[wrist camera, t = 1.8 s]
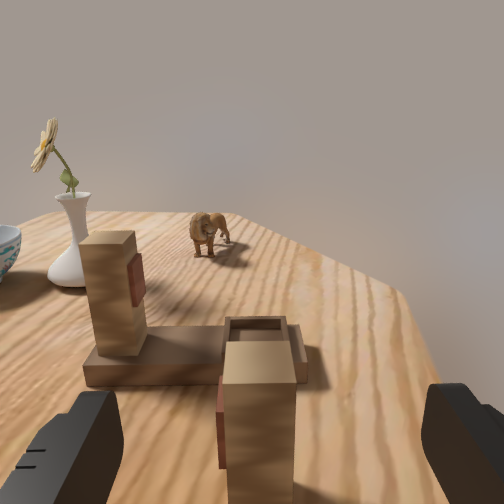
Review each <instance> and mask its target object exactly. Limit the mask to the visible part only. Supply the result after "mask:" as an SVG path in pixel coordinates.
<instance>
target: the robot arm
mask: <svg viewBox="0 0 504 504" xmlns="http://www.w3.org/2000/svg"><path fill="white" fill-rule="evenodd" d="M421 440H422V446H423V450H424V453H425V456H426V458H427V460H428V462H429V464H430V466H431V468H432V470H433V472H434V474H435V476H436V478H437V480H438V482H439V484H440V486H441V488H442V490H443V491H444V493H445V495H446V497H447V499H448V501H449V503H450V504H504V415H503V414H502V413H500V412H499V411H498V410H496V409H495V408H493V407H492V406H491V405H489V404H484V405H481V404H480V402H479V401H478V400H477V399H476V397H475V396H474V395H473V393H472V392H471V391H470V390H469V388H468V387H467V386H466V385H465V384H462V383H448V384H431V385H430V386H429V388H428V392H427V398H426V404H425V410H424V416H423V422H422V428H421ZM123 448H124V437H123V431H122V426H121V420H120V415H119V409H118V404H117V398H116V395H115V393H114V391H84V392H81V393H80V394H79V396H78V397H77V399H76V401H75V402H74V404H73V406H72V407H71V409H70V411H69V412H68V413H67V414H57V415H56V416H55V417H54V418H53V419H52V420H50V421H49V422H48V423H47V424H46V425H45V426H43V427H42V428H41V429H40V430H39V431H38V433H37V434H36V436H35V437H34V439H33V440H32V442H31V443H30V445H29V446H28V448H27V449H26V454H23V456H22V457H21V459H20V460H19V462H18V463H17V465H16V466H15V467H16V468H15V470H14V471H12V472H11V474H10V475H9V477H8V478H7V480H6V481H5V483H4V485H3V486H2V488H1V489H0V504H106V502H107V500H108V497H109V494H110V491H111V489H112V486H113V483H114V480H115V478H116V475H117V472H118V469H119V467H120V464H121V460H122V456H123Z"/></svg>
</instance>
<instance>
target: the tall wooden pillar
mask: <svg viewBox="0 0 504 504" xmlns="http://www.w3.org/2000/svg"><path fill="white" fill-rule="evenodd" d="M296 384H297V383H296V377H295V371H294V365H293V359H292V353H291V347H290V341H237V342H226V352H225V362H224V372H223V376H220V378H219V387H218V396H217V405H216V426H217V443H218V460H219V469H227V488H228V504H293V474H294V444H295V414H296Z"/></svg>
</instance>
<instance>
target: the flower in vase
mask: <svg viewBox="0 0 504 504" xmlns="http://www.w3.org/2000/svg"><path fill="white" fill-rule="evenodd" d="M57 127H58V121H57V120H55V117H54V119H52V120H50V119H49V120H48V124H47V130H46V133H45V131H43V132H42V133H41V142H40V146H39V147H38V148H37V149H36V150H35V152H34V155H35V156H36V155H37V157H36V158H35V160H34V161H33V163H32V165H31V168H33V173H35V172H38V171H39V170H40V169H41V168H42V167H43V165H44V164H45V162H46V160H47V158H48V156H49V153H50V152H53V151H54V152H55V153H56V154H57V156H58V157H59V158H60V159H61V161H62V162H63V164H64V165H65V167H66V168H67V170H68V171H67V170H66V169H64V171H63V173H62V174H61V176H60V180H61V181H62V182H63V183H65V184H66V185H68V188H67V191H66V193H65V194H60V195H57V196H56V197H55V198H56V199H57V200H58V201H59V202H60V203H61V204H62V205H63V207H64V209H65V211H66V213H67V215H68V218H69V221H70V225H71V229H72V242H71V245H70V246H69V248H68V249H67V250H66V251H65V252H64V253H63V254H61V255H60V256H59V257H58V258H57V259H56V260H55V261H54V263H53V264H52V265H51V267H50V268H49V270H48V275H47V277H48V279H49V280H50V281H51V282H53V283H54V284H56V285H59V286H66V287H83V286H86V285H85V280H84V274H83V269H82V263H81V258H80V252H79V247H78V244H79V243H80V242H82V241H83V240H84V239H85V238H87V237H88V236H89V234H88V231H87V226H86V205H87V202H88V199H89V198H90V196H91V193H88V192H75V189H74V187H76V186H77V185H78V183H79V181H78V180H77V179H76V178H75V177H73V176H72V173H71V171H70V169H69V167H68V165H67V164H66V162H65V161H64V159H63V158H62V156H61V155H60V154H59V152H58V151H57V150H56V149H55V146H54V145H53V144H54V140H55V137H56V134H57V130H58V128H57ZM70 187H72V193H67V192H70Z"/></svg>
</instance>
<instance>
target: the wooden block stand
mask: <svg viewBox="0 0 504 504" xmlns="http://www.w3.org/2000/svg"><path fill="white" fill-rule="evenodd" d="M78 247H79V252H80V258H81V263H82V269H83V274H84V280H85V285H86V291H87V296H88V302H89V307H90V313H91V318H92V324H93V329H94V335H95V340H96V345H95V347H94V349H93V350H92V352H91V353H90V355H89V356H88V358H87V359H86V361H85V362H84V364H83V371H84V376H85V380H86V385H87V386H149V385H218V384H219V378H220V376H223V372H224V362H225V352H226V342H237V341H290V347H291V353H292V359H293V365H294V371H295V377H296V383H307V369H308V361H307V357H306V352H305V348H304V343H303V339H302V334H301V330H300V326H299V325H287V322H286V316H247V317H225V325H224V326H160V327H147V325H146V317H145V309H144V301H143V297H144V295H145V293H146V288H145V280H144V272H143V264H142V256H141V253H137V245H136V237H135V230H134V231H94V232H93V233H92V234H90V235H89V236H88V237H87V238H85V239H84V240H83V241H82V242H80V243H79V244H78Z"/></svg>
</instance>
